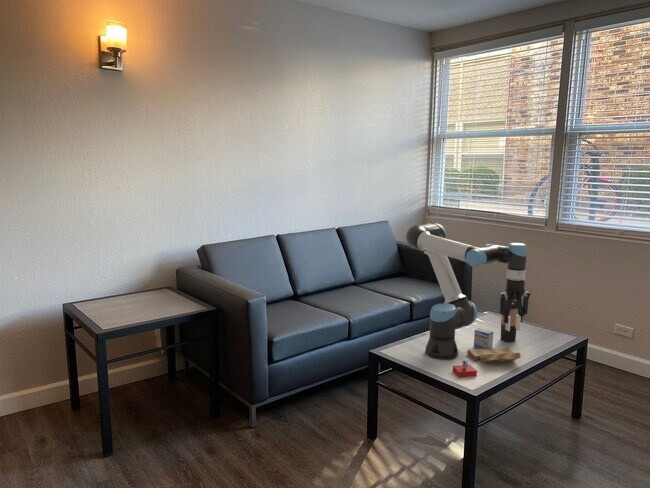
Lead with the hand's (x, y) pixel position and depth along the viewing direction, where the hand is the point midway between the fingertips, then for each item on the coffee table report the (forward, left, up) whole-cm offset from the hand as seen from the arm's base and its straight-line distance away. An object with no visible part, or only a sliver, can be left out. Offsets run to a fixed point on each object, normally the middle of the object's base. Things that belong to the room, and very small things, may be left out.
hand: (512, 329), depth 227 cm
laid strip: (-4, +10, -17) cm, 20 cm away
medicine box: (-3, +22, -17) cm, 28 cm away
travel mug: (+14, +30, -17) cm, 37 cm away
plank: (-4, +2, -15) cm, 15 cm away
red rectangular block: (-24, -6, -17) cm, 30 cm away
